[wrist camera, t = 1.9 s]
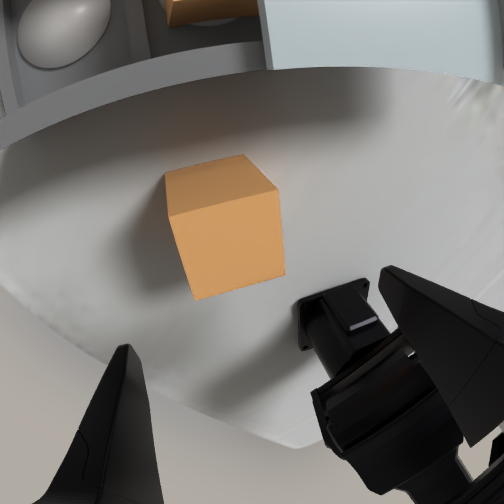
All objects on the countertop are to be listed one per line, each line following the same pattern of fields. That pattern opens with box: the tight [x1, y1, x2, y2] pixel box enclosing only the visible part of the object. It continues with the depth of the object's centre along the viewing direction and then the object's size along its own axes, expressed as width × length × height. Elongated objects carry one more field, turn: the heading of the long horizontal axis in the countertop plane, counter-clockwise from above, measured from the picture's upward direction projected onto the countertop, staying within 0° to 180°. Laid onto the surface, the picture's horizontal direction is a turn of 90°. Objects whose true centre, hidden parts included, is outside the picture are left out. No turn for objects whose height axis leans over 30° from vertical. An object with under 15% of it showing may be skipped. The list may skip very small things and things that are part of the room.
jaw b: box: [165, 154, 285, 301], centre depth 15 cm, size 4×4×6 cm
